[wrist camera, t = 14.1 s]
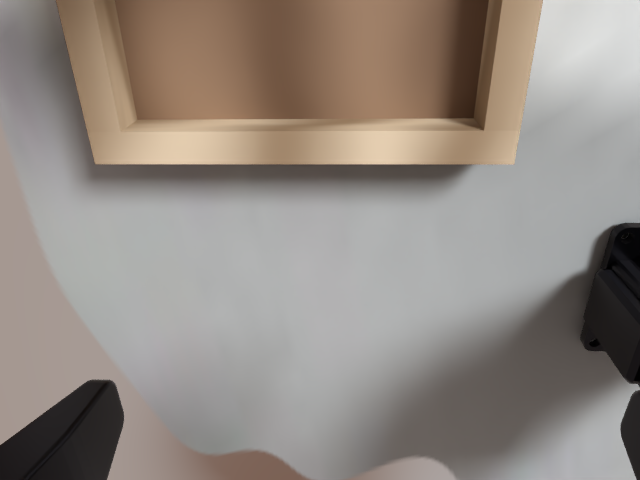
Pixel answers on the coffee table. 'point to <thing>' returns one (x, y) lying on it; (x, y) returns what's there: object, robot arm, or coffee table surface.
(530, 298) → the coffee table surface
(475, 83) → the keyhole board
